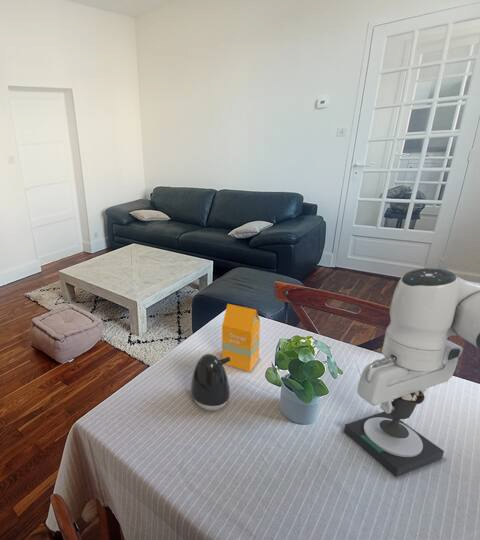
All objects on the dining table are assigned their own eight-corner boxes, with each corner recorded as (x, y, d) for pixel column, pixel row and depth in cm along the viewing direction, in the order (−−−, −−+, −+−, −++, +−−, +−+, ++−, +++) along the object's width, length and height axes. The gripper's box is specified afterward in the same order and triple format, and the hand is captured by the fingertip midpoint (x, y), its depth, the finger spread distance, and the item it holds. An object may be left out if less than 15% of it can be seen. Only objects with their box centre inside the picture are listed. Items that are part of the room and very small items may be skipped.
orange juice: (250, 374, 101) (252, 315, 94) (221, 365, 106) (221, 308, 99) (258, 360, 106) (261, 304, 99) (231, 352, 112) (231, 298, 105)
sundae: (411, 423, 73) (426, 365, 68) (416, 446, 68) (432, 386, 63) (374, 413, 76) (385, 357, 71) (375, 434, 71) (387, 376, 66)
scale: (384, 420, 81) (387, 408, 79) (441, 461, 70) (445, 448, 68) (343, 434, 78) (345, 422, 77) (395, 480, 67) (398, 466, 66)
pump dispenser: (235, 415, 87) (236, 367, 81) (194, 418, 87) (192, 369, 82) (225, 388, 96) (225, 343, 91) (188, 390, 97) (186, 346, 92)
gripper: (384, 373, 60) (373, 432, 65) (470, 346, 64) (453, 403, 69) (353, 354, 66) (344, 409, 71) (433, 330, 70) (420, 384, 75)
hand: (399, 406), depth 70 cm, fingers closed on sundae, 5 cm apart
